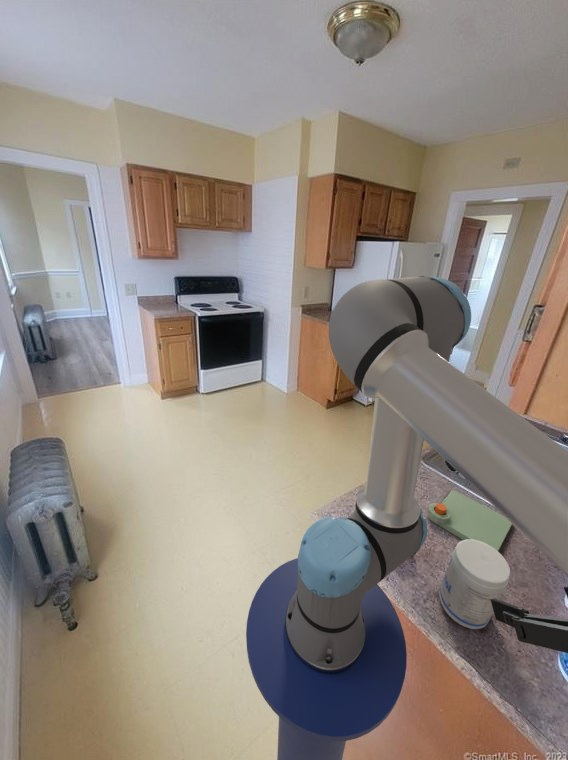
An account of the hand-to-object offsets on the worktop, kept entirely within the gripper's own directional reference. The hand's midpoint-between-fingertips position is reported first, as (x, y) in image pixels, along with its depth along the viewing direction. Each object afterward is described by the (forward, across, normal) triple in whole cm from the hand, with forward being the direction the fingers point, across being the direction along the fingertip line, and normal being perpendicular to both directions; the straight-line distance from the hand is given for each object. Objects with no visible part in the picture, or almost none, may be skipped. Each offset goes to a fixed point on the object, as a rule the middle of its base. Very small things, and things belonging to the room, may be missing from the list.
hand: (532, 602), depth 51 cm
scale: (+34, +17, +9) cm, 39 cm away
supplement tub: (+20, 0, -6) cm, 21 cm away
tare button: (+33, +8, +12) cm, 36 cm away
